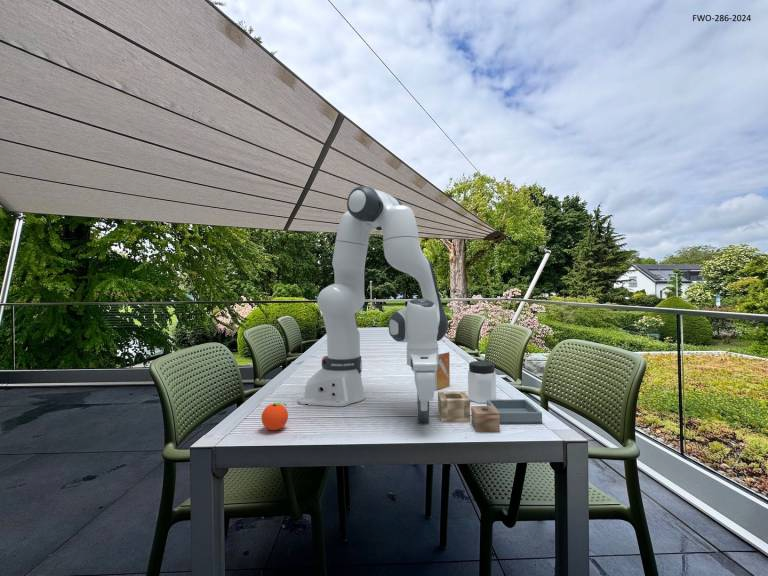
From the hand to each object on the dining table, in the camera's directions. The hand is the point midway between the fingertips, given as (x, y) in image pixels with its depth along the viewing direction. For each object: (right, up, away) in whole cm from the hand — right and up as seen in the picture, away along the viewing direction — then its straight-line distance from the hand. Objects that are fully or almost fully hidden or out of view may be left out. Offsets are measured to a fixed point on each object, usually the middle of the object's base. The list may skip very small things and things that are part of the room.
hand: (423, 407), depth 105 cm
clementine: (-40, -5, -3) cm, 40 cm away
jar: (+21, -4, +20) cm, 29 cm away
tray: (+26, -4, +3) cm, 27 cm away
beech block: (+9, -4, +4) cm, 11 cm away
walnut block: (+16, -4, -5) cm, 17 cm away
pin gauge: (0, -4, 0) cm, 4 cm away
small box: (+9, -4, +36) cm, 37 cm away
